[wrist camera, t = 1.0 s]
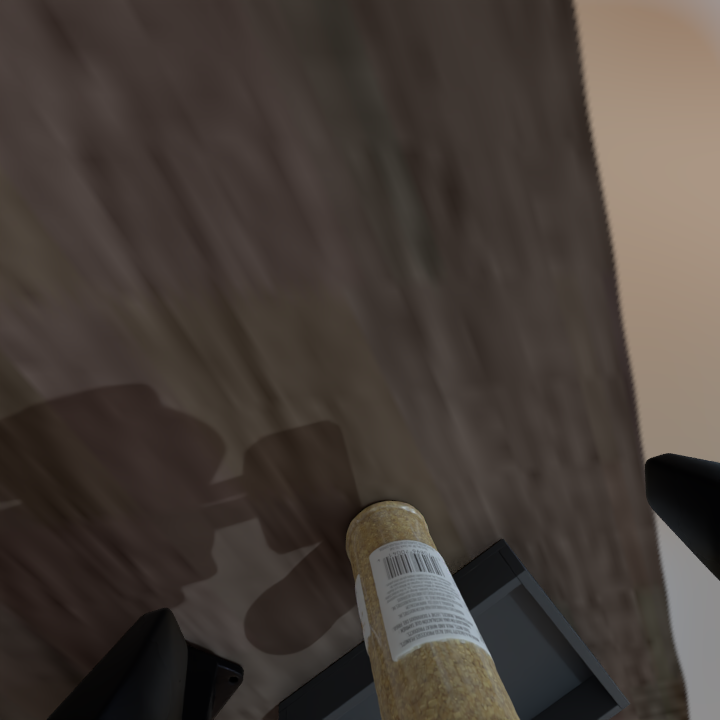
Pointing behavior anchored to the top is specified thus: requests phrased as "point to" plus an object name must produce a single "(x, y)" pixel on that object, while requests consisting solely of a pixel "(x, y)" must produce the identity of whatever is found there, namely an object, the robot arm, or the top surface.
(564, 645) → the tray
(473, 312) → the top surface
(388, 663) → the sprinkles bottle
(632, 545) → the top surface
